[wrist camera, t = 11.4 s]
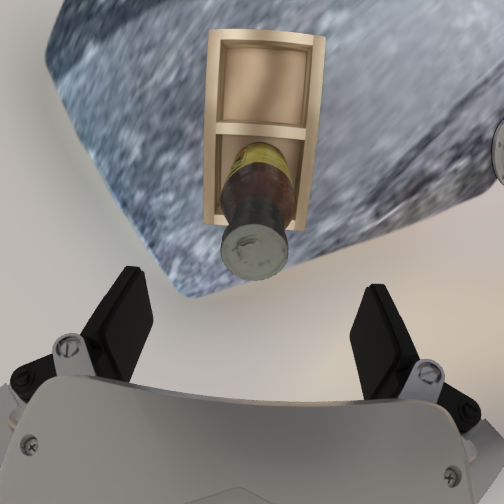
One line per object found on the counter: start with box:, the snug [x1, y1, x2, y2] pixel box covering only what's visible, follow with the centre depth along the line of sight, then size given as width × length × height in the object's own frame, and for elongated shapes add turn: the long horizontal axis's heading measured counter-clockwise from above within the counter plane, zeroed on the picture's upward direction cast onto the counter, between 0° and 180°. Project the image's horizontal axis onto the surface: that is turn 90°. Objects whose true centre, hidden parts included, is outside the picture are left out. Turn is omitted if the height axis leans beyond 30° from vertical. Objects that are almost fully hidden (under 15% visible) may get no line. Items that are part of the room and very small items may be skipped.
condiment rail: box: [204, 29, 326, 231], centre depth 29 cm, size 11×22×6 cm, turn 177°
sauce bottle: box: [220, 142, 295, 281], centre depth 25 cm, size 6×6×20 cm
